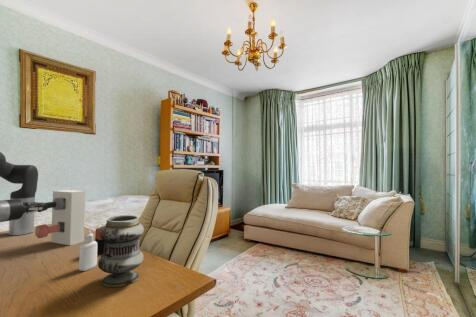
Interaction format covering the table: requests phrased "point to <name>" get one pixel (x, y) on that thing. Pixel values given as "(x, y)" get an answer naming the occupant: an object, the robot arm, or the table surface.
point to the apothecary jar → (121, 250)
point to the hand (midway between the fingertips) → (54, 204)
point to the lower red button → (45, 230)
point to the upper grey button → (59, 203)
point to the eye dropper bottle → (88, 253)
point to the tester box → (69, 217)
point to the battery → (99, 241)
